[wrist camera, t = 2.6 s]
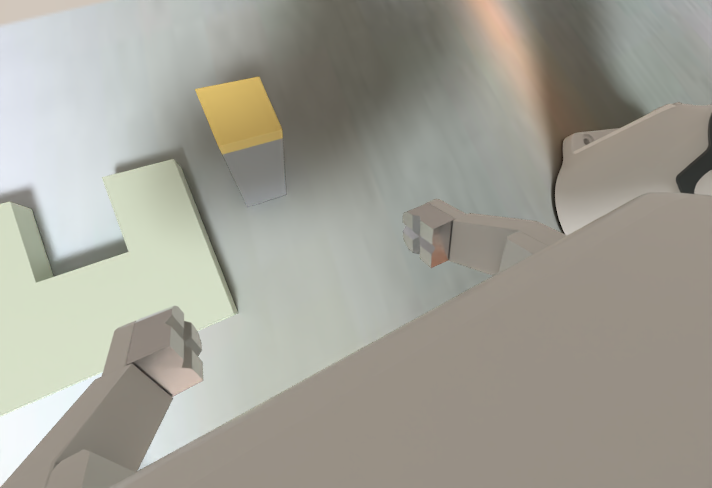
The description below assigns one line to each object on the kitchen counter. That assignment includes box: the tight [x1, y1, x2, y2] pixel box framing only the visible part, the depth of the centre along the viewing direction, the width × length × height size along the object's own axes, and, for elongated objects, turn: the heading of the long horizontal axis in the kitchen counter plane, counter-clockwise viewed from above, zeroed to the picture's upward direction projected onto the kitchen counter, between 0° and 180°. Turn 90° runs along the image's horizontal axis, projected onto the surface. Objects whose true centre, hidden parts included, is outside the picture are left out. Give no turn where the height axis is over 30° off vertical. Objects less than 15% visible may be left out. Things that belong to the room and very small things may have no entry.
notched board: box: [0, 159, 238, 417], centre depth 18 cm, size 14×12×2 cm
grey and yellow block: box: [195, 77, 286, 207], centre depth 18 cm, size 3×3×9 cm
